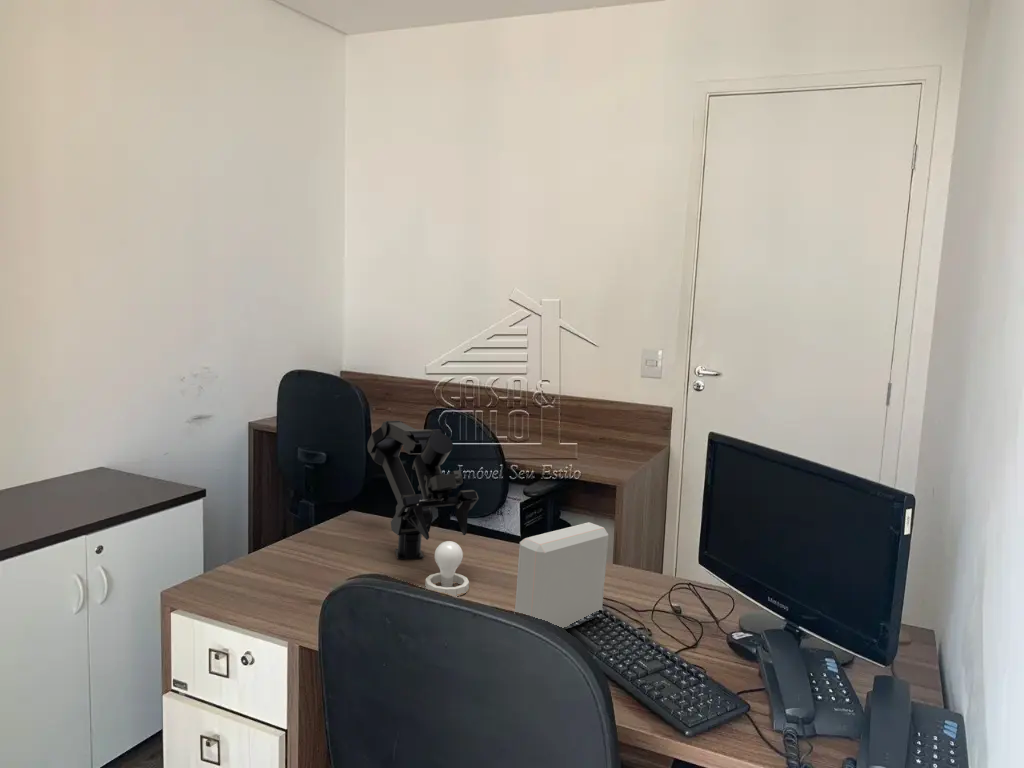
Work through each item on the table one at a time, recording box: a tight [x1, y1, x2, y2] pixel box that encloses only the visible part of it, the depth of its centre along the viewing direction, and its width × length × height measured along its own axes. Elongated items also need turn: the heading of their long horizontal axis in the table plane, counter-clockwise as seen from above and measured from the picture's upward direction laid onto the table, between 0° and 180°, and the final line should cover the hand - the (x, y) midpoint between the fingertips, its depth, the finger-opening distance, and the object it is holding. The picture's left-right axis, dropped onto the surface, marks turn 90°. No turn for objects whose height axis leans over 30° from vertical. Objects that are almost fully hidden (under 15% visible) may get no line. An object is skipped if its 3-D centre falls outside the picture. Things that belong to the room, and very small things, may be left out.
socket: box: [424, 572, 470, 596], centre depth 170 cm, size 10×10×2 cm
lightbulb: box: [434, 540, 464, 587], centre depth 169 cm, size 6×6×11 cm
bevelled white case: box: [514, 521, 610, 628], centre depth 154 cm, size 21×8×20 cm, turn 133°
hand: (446, 536), depth 170 cm, fingers open, 9 cm apart
